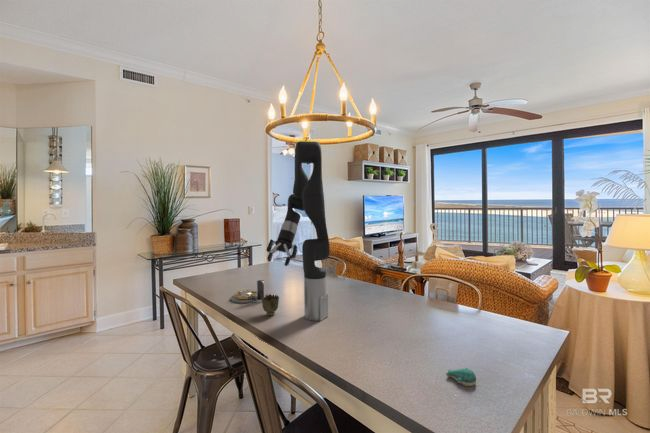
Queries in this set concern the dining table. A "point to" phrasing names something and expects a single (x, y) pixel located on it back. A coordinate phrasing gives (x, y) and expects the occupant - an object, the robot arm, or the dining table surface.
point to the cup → (270, 304)
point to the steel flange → (243, 299)
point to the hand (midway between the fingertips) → (277, 263)
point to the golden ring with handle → (253, 292)
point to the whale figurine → (463, 376)
